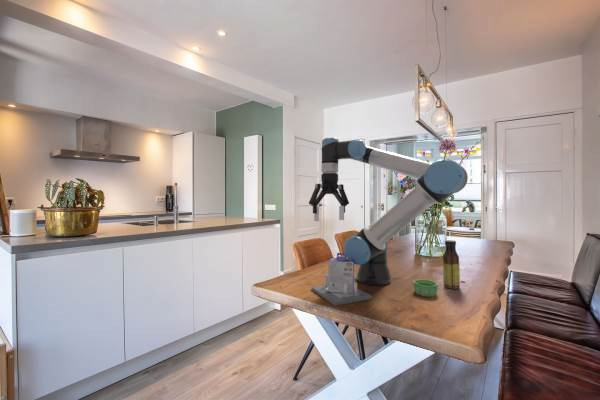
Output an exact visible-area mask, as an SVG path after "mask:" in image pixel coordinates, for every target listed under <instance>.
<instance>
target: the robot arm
mask: <svg viewBox="0 0 600 400" xmlns="http://www.w3.org/2000/svg"><path fill="white" fill-rule="evenodd" d="M320 149H321V169H320V170H321V171H320V172H321V175H320V176H321V177H320V180H321V183H315V184H314V185H315V186H314V190H313V192H312V195H311V196H310V199H309V201H308V205H311V206H312V214H313V215H314V216H313V221H314V222H320V206H318V205H319V204H320V202H321V201H322V200H323V198H324V197H325V196H326V195H333V196H334V198H336V199H335V200H337V202H338V203H339V204H340V205H339V206H338V208H339V209H338V211H339V212H338V220H339V221H345V213H346V206H348V205H349V204H350V202H349V198H348V197H347V196H348V195H347V194H346V192H345V187H344V184H342V183H340V184H338V182H339V174H338V173H339V160H353V161H357V162H360V163H364V164H368V165H371V166H375V167H377V168H380V169H381V168H382V169H384V170H387V171H391V172H394V173H397V174H401V175H403V176H407V177H410V178H413V179H416V181H415V182H416V183H415V185H416V186H415V187H414V188H413V189H412V190H411V191H409V192H408V193H407V194H406V195H405V196H404V197H403V198H401V200H399V201H398V202H397V203H396V204H395V205H393V206H392V207H391V208H390V209H389V210H388V211H387V212H386V213H385V214H383V215H382V216H381V217H380V218H379V219H377V221H375V222H374V223H373V224H372V225H370V226H364V227H363V228H362V229H360V230H359V231H358V232H357V233H356V234H355V235H352V236H350V237H349V238H347V239H346V241H345V242H344V246H343V252H344V253H346V259H354V265H358V266H359V267H358V269H357V272H356V280H357V281H358V282H360V283H362V284H366V285H372V286H385V285H388V284H390V283H391V281H392V277H391V274H390V269H389V266H388V241H390V240H391V239H393V237H395V236H396V235H397V234H399V233H400V232H401V231H402V230H403V229H405V228H406V227H407V226H408V225H409V224H410V223H412V222H413V221H414V220H416V219H417V218H418V217H419V216H420V215H422V214H423V213H424V212H425V211H426V210H428V209H429V208H431V206H433V205H435V204H437V205H441V204H442V203H443V202H444V201H446V200H447V199H448V198H449V197H451V196H452V195H453V194H457V193H459V192H460V191H462V190H463V189H464V188H465V187H466V185H467V183H468V178H469V176H468V173H467V171H466V169H465V168H464V167H463V166H462V165H461V164H460V163H458V162H457V161H455V160H451V159H446V158H445V159H438V160H436V161H434V162H427V161H424V160H421V159H417V158H414V157H409V156H405V155H402V154H398V153H395V152H390V151H386V150H382V149H379V148H375V147H372V146H369V145H368V146H367V145H366V144H365V142H364V141H363V140H362V139H353V140H346V141H339V139H338V138H337V137H326V138H323V139H322V141H321V148H320Z"/></svg>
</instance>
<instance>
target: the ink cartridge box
mask: <svg viewBox="0 0 600 400" xmlns="http://www.w3.org/2000/svg"><path fill="white" fill-rule="evenodd" d="M327 261H328V262H327V263H328V265H327V266H328V268H327V269H328V270H327V271H328V272H327V274H328V292H340V293H344V284H347V293H353V292H354V282H355V264H354V259H347V257H346V253H345V252H344V253H342V252H336V258H329V260H327Z"/></svg>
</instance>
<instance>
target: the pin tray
mask: <svg viewBox="0 0 600 400" xmlns="http://www.w3.org/2000/svg"><path fill="white" fill-rule="evenodd" d="M324 279H325V281H324V283H325V284H324V285H317V286H316V285H315V286H311V291H313V292H314V293H315V294H317V295H319V296H320V297H322V299H325V300H326V301H328V302H329V303H330V304H332V305H333V306H340V305H345V304H351V303H357V302H358V303H359V302H363V301H368V300H372V299H373V297H372V295H371V294H369V293H367V292H365V291H363V290H361V289H359V288H358V282H356V281H354V292H353V293H347V284H344V293H340V292H328V273H326V274H325V278H324Z"/></svg>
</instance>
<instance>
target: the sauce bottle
mask: <svg viewBox="0 0 600 400" xmlns="http://www.w3.org/2000/svg"><path fill="white" fill-rule="evenodd" d="M444 244H445V251H444V253H443V255H442V276H443V278H442V279H443V280H442V281H443V287H444V288H446V289H450V290H459V289H460V288H461V286H460V285H461V276H460V275H461V272H460V271H461V270H460V266H461V265H460V256H459V255H458V253H457V250H456V248H457V247H456V245H457V242H456V240H452V239H446V240H444Z"/></svg>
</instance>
